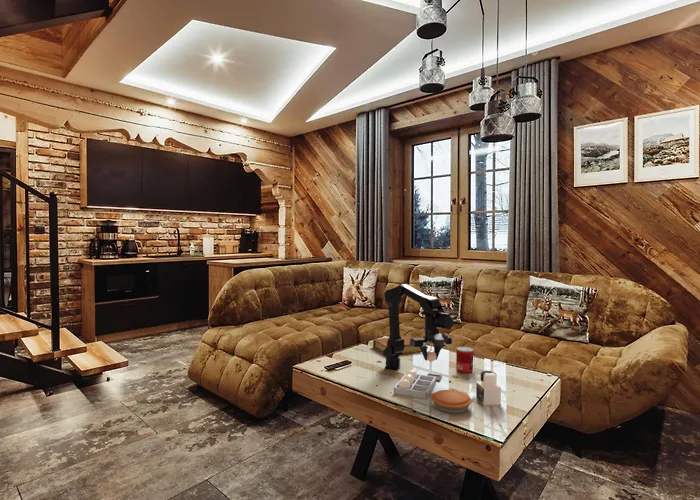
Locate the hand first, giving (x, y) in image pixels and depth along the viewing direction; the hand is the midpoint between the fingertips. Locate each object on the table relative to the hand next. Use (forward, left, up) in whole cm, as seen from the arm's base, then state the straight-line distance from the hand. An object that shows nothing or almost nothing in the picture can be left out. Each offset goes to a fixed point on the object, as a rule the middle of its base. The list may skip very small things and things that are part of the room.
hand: (430, 360), depth 177 cm
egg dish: (0, +6, -10) cm, 12 cm away
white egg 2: (-8, -9, -7) cm, 14 cm away
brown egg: (0, 0, +2) cm, 2 cm away
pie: (+12, -23, -11) cm, 28 cm away
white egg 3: (-8, -16, -7) cm, 19 cm away
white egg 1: (-8, -2, -7) cm, 11 cm away
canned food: (+12, +23, -11) cm, 28 cm away
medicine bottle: (+25, -12, -11) cm, 30 cm away
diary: (-28, +46, -11) cm, 55 cm away
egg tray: (-5, -9, -10) cm, 15 cm away
